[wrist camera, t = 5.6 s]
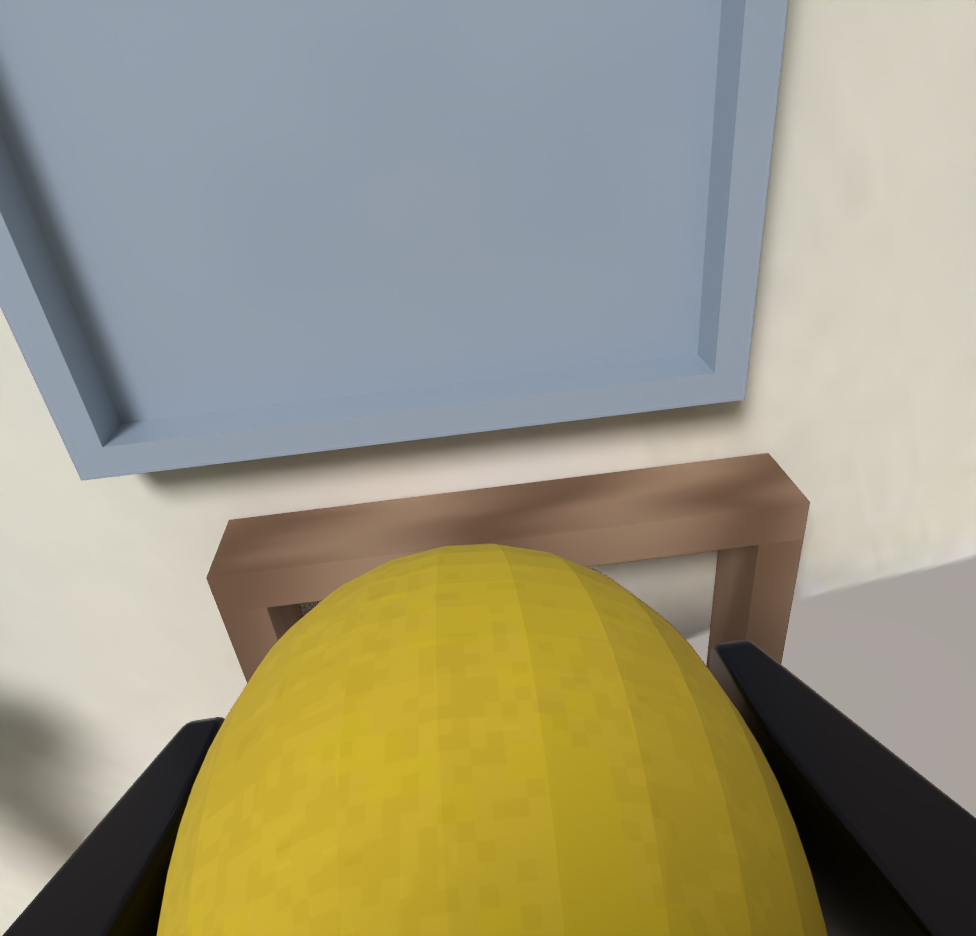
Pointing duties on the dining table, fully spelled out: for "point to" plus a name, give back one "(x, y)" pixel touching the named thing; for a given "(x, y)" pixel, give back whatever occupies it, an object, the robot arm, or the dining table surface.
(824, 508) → the dining table surface
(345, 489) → the dining table surface
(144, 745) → the dining table surface
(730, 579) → the holder
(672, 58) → the tray
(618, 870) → the lemon
